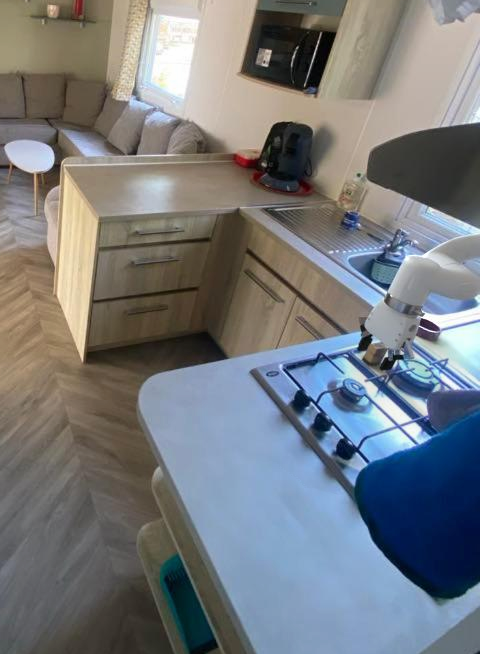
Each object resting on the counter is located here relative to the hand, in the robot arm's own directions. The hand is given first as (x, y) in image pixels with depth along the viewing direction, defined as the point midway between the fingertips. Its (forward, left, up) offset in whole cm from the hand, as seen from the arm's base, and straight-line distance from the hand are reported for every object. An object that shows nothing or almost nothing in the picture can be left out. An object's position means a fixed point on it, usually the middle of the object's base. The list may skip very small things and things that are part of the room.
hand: (372, 359), depth 111 cm
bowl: (-24, -21, -1) cm, 32 cm away
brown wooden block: (0, 0, -1) cm, 1 cm away
